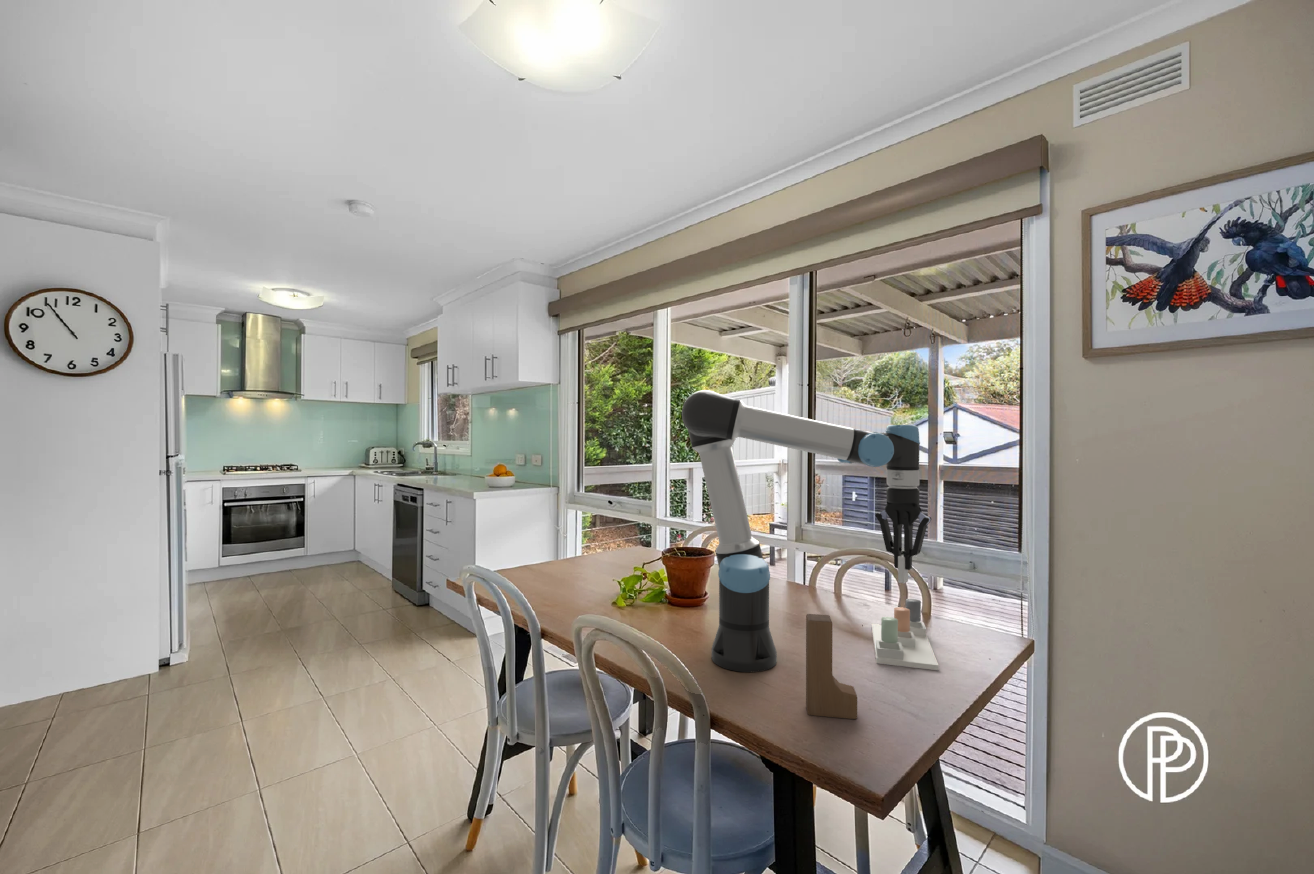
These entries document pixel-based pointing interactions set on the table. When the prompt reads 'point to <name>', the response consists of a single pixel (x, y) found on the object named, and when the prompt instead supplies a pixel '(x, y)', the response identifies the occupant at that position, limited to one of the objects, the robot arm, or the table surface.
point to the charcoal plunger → (914, 609)
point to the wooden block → (825, 674)
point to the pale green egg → (889, 629)
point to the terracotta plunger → (902, 618)
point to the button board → (905, 648)
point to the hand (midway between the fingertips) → (903, 581)
